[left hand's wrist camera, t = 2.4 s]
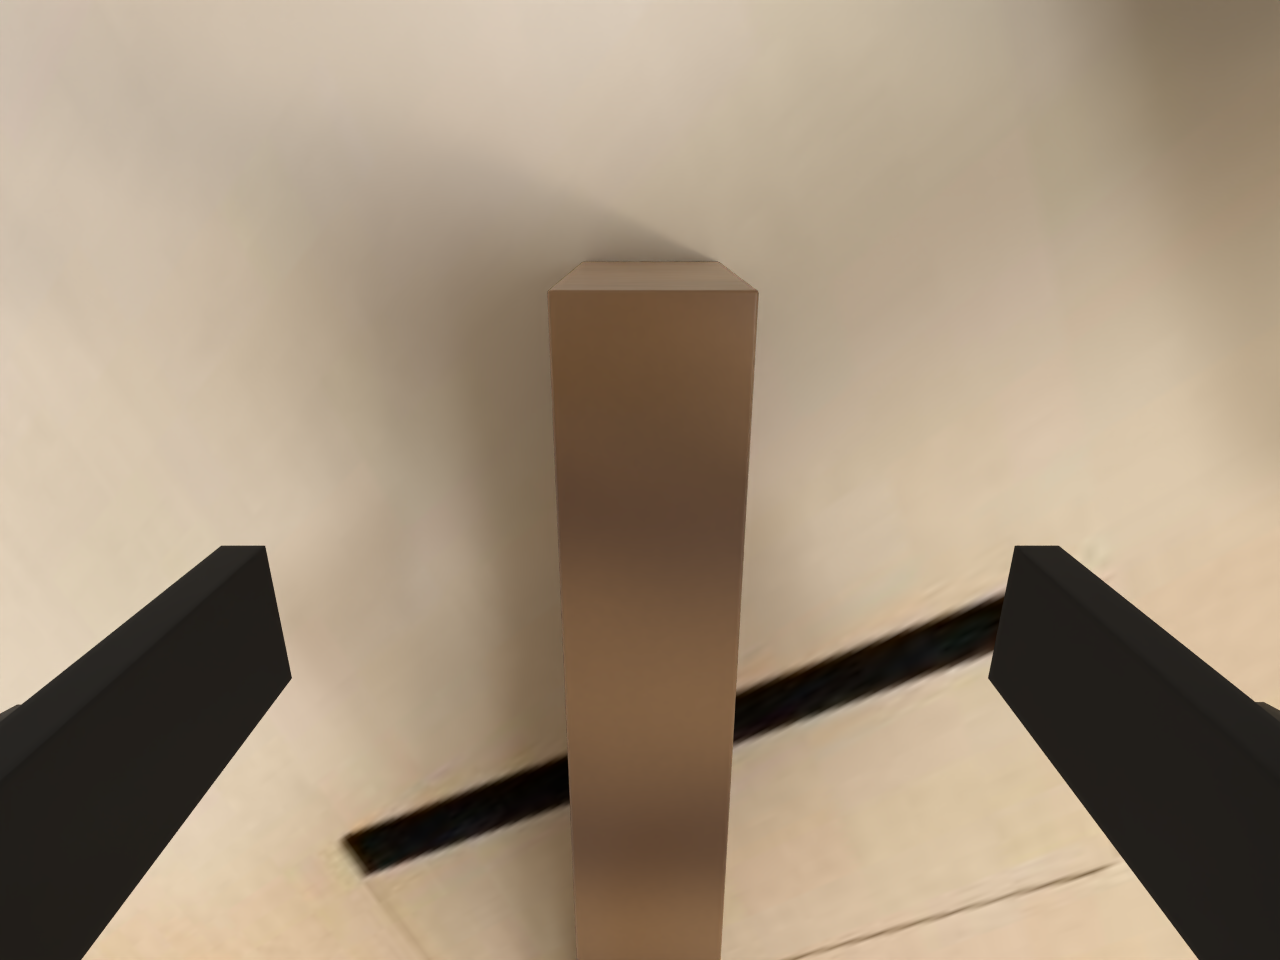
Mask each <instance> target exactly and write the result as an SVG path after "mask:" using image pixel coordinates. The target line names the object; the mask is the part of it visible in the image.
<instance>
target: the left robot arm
mask: <svg viewBox="0 0 1280 960" xmlns="http://www.w3.org/2000/svg"><path fill="white" fill-rule="evenodd" d="M291 679H292V677H291V672H290V667H289V662H288V657H287V652H286V647H285V642H284V637H283V632H282V627H281V622H280V617H279V612H278V607H277V602H276V597H275V592H274V587H273V582H272V578H271V573H270V568H269V563H268V558H267V553H266V548H265V546H220V547H219V548H218V549H217V550H215V551H214V552H213V553H212V554H210V555H209V556H208V557H207V558H205V559H204V560H203V561H202V562H200V563H199V564H198V565H197V566H195V567H194V568H193V569H191V570H190V571H189V572H188V573H186V574H185V575H184V576H183V577H181V578H180V579H179V580H178V581H176V582H175V583H174V584H173V585H171V586H170V587H169V588H168V589H166V590H165V591H164V592H163V593H161V594H160V595H159V596H158V597H156V598H155V599H154V600H153V601H151V602H150V603H149V604H147V605H146V606H145V607H144V608H142V609H141V610H140V611H139V612H137V613H136V614H135V615H134V616H132V617H131V618H130V619H129V620H127V621H126V622H125V623H124V624H122V625H121V626H120V627H119V628H117V629H116V630H115V631H114V632H112V633H111V634H110V635H109V636H107V637H106V638H105V639H104V640H102V641H101V642H100V643H98V644H97V645H96V646H95V647H93V648H92V649H91V650H90V651H88V652H87V653H86V654H85V655H83V656H82V657H81V658H80V659H78V660H77V661H76V662H75V663H73V664H72V665H71V666H70V667H68V668H67V669H66V670H65V671H63V672H62V673H61V674H60V675H58V676H57V677H56V678H54V679H53V680H52V681H51V682H49V683H48V684H47V685H46V686H44V687H43V688H42V689H41V690H39V691H38V692H37V693H36V694H34V695H33V696H32V697H31V698H29V699H28V700H27V701H26V702H24V703H23V704H22V705H16V706H14V707H12V708H10V709H8V710H6V711H4V712H2V713H1V714H0V960H81V959H82V958H83V957H84V955H85V954H86V953H87V951H88V950H89V949H90V947H91V946H92V945H93V943H94V942H95V941H96V939H97V938H98V937H99V935H100V934H101V933H102V931H103V930H104V929H105V927H106V926H107V925H108V923H109V922H110V921H111V919H112V918H113V917H114V915H115V914H116V913H117V911H118V910H119V908H120V907H121V906H122V904H123V903H124V902H125V900H126V899H127V898H128V896H129V895H130V894H131V892H132V891H133V890H134V888H135V887H136V886H137V884H138V883H139V882H140V880H141V879H142V878H143V876H144V875H145V874H146V872H147V871H148V870H149V868H150V867H151V866H152V864H153V863H154V862H155V860H156V859H157V858H158V856H159V855H160V854H161V852H162V851H163V850H164V848H165V847H166V846H167V844H168V843H169V842H170V840H171V839H172V838H173V836H174V835H175V834H176V832H177V831H178V830H179V828H180V827H181V826H182V824H183V823H184V822H185V820H186V819H187V818H188V816H189V815H190V814H191V812H192V811H193V810H194V808H195V807H196V806H197V804H198V803H199V802H200V800H201V799H202V798H203V796H204V795H205V794H206V792H207V791H208V790H209V788H210V787H211V785H212V784H213V783H214V781H215V780H216V779H217V777H218V776H219V775H220V773H221V772H222V771H223V769H224V768H225V767H226V765H227V764H228V763H229V761H230V760H231V759H232V757H233V756H234V755H235V753H236V752H237V751H238V749H239V748H240V747H241V745H242V744H243V743H244V741H245V740H246V739H247V737H248V736H249V735H250V733H251V732H252V731H253V729H254V728H255V727H256V725H257V724H258V723H259V721H260V720H261V719H262V717H263V716H264V715H265V713H266V712H267V711H268V709H269V708H270V707H271V705H272V704H273V703H274V701H275V700H276V699H277V697H278V696H279V695H280V693H281V692H282V691H283V689H284V688H285V687H286V685H287V684H288V683H289V681H290V680H291ZM988 679H989V680H990V681H991V683H992V684H993V685H994V687H995V688H996V689H997V691H998V692H999V693H1000V695H1001V696H1002V697H1003V699H1004V700H1005V701H1006V703H1007V704H1008V705H1009V707H1010V708H1011V709H1012V711H1013V712H1014V713H1015V715H1016V716H1017V717H1018V719H1019V720H1020V721H1021V723H1022V724H1023V725H1024V727H1025V728H1026V729H1027V731H1028V732H1029V733H1030V735H1031V736H1032V737H1033V739H1034V740H1035V741H1036V743H1037V744H1038V745H1039V747H1040V748H1041V749H1042V751H1043V752H1044V753H1045V755H1046V756H1047V757H1048V759H1049V760H1050V761H1051V763H1052V764H1053V765H1054V767H1055V768H1056V769H1057V771H1058V772H1059V773H1060V775H1061V776H1062V777H1063V779H1064V780H1065V781H1066V783H1067V784H1068V786H1069V787H1070V788H1071V790H1072V791H1073V792H1074V794H1075V795H1076V796H1077V798H1078V799H1079V800H1080V802H1081V803H1082V804H1083V806H1084V807H1085V808H1086V810H1087V811H1088V812H1089V814H1090V815H1091V816H1092V818H1093V819H1094V820H1095V822H1096V823H1097V824H1098V826H1099V827H1100V828H1101V830H1102V831H1103V832H1104V834H1105V835H1106V836H1107V838H1108V839H1109V840H1110V842H1111V843H1112V844H1113V846H1114V847H1115V848H1116V850H1117V851H1118V852H1119V854H1120V855H1121V856H1122V858H1123V859H1124V860H1125V862H1126V863H1127V864H1128V866H1129V867H1130V868H1131V870H1132V871H1133V872H1134V874H1135V875H1136V876H1137V878H1138V879H1139V880H1140V882H1141V883H1142V884H1143V886H1144V887H1145V888H1146V890H1147V891H1148V892H1149V894H1150V895H1151V896H1152V898H1153V899H1154V900H1155V902H1156V903H1157V904H1158V906H1159V907H1160V908H1161V910H1162V911H1163V913H1164V914H1165V915H1166V917H1167V918H1168V919H1169V921H1170V922H1171V923H1172V925H1173V926H1174V927H1175V929H1176V930H1177V931H1178V933H1179V934H1180V935H1181V937H1182V938H1183V939H1184V941H1185V942H1186V943H1187V945H1188V946H1189V947H1190V949H1191V950H1192V951H1193V953H1194V954H1195V955H1196V957H1197V958H1198V959H1199V960H1280V710H1278V709H1276V708H1274V707H1272V706H1270V705H1268V704H1266V703H1264V702H1254V701H1253V700H1252V699H1251V698H1249V697H1248V696H1247V695H1246V694H1244V693H1243V692H1242V691H1241V690H1239V689H1238V688H1237V687H1236V686H1234V685H1233V684H1232V683H1231V682H1229V681H1228V680H1227V679H1226V678H1224V677H1223V676H1222V675H1220V674H1219V673H1218V672H1217V671H1215V670H1214V669H1213V668H1212V667H1210V666H1209V665H1208V664H1207V663H1205V662H1204V661H1203V660H1202V659H1200V658H1199V657H1198V656H1197V655H1195V654H1194V653H1193V652H1192V651H1190V650H1189V649H1188V648H1187V647H1185V646H1184V645H1183V644H1182V643H1180V642H1179V641H1178V640H1176V639H1175V638H1174V637H1173V636H1171V635H1170V634H1169V633H1168V632H1166V631H1165V630H1164V629H1163V628H1161V627H1160V626H1159V625H1158V624H1156V623H1155V622H1154V621H1153V620H1151V619H1150V618H1149V617H1148V616H1146V615H1145V614H1144V613H1143V612H1141V611H1140V610H1139V609H1138V608H1136V607H1135V606H1134V605H1133V604H1131V603H1130V602H1129V601H1127V600H1126V599H1125V598H1124V597H1122V596H1121V595H1120V594H1119V593H1117V592H1116V591H1115V590H1114V589H1112V588H1111V587H1110V586H1109V585H1107V584H1106V583H1105V582H1104V581H1102V580H1101V579H1100V578H1099V577H1097V576H1096V575H1095V574H1094V573H1092V572H1091V571H1090V570H1089V569H1087V568H1086V567H1085V566H1083V565H1082V564H1081V563H1080V562H1078V561H1077V560H1076V559H1075V558H1073V557H1072V556H1071V555H1070V554H1068V553H1067V552H1066V551H1065V550H1063V549H1062V548H1061V547H1060V546H1015V548H1014V553H1013V558H1012V563H1011V568H1010V573H1009V578H1008V582H1007V587H1006V592H1005V597H1004V602H1003V607H1002V612H1001V617H1000V622H999V627H998V632H997V637H996V642H995V647H994V652H993V657H992V662H991V667H990V672H989V677H988Z"/></svg>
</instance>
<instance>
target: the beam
mask: <svg viewBox="0 0 1280 960" xmlns="http://www.w3.org/2000/svg"><path fill="white" fill-rule="evenodd" d="M758 295H759V293H758V291H757V290H756V289H755V288H753V287H752V286H750V285H749V284H748V283H746V282H745V281H744V280H742V279H741V278H740V277H738V276H737V275H736V274H734V273H733V272H732V271H730V270H729V269H728V268H726V267H725V266H724V265H722V264H721V263H720V262H582V263H581V264H580V265H579V266H577V267H576V268H575V269H574V270H573V271H571V272H570V273H569V274H568V275H566V276H565V277H564V278H563V279H562V280H560V281H559V282H558V283H557V284H556V285H554V286H553V287H552V288H551V289H550V290H548V293H547V297H548V319H549V342H550V365H551V387H552V410H553V432H554V455H555V477H556V500H557V522H558V545H559V567H560V590H561V612H562V635H563V658H564V680H565V703H566V725H567V748H568V770H569V793H570V815H571V838H572V860H573V883H574V905H575V928H576V950H577V960H720V959H721V942H722V924H723V907H724V889H725V872H726V854H727V837H728V819H729V802H730V784H731V767H732V749H733V732H734V714H735V697H736V679H737V662H738V644H739V627H740V609H741V592H742V575H743V557H744V540H745V522H746V505H747V487H748V470H749V452H750V435H751V417H752V400H753V382H754V365H755V347H756V330H757V312H758Z"/></svg>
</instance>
